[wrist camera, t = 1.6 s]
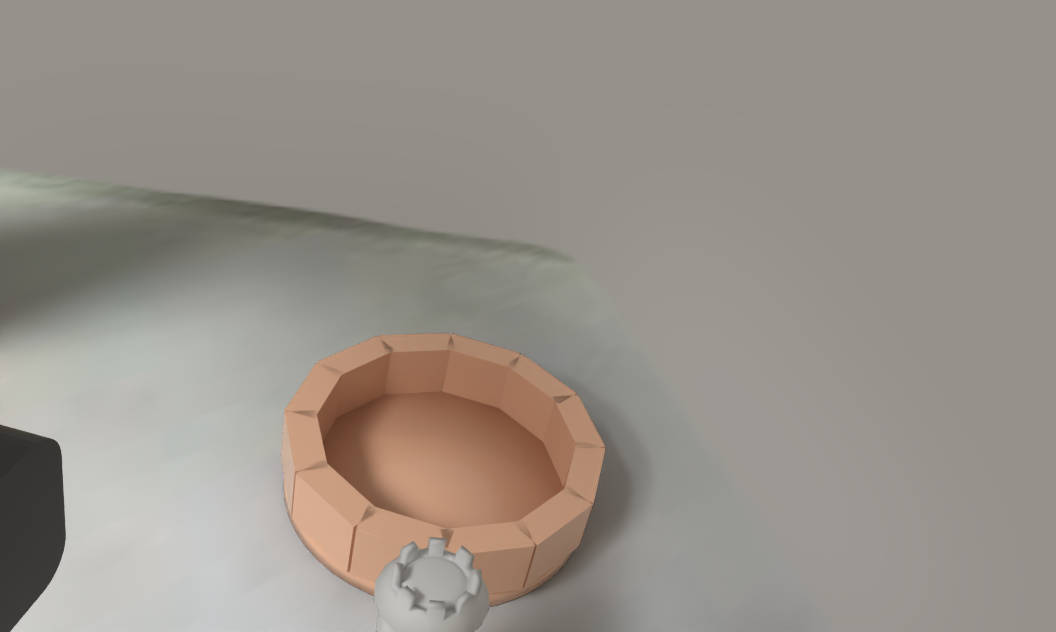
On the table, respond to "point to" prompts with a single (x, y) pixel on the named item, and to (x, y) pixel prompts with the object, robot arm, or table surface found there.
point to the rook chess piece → (431, 591)
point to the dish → (439, 460)
